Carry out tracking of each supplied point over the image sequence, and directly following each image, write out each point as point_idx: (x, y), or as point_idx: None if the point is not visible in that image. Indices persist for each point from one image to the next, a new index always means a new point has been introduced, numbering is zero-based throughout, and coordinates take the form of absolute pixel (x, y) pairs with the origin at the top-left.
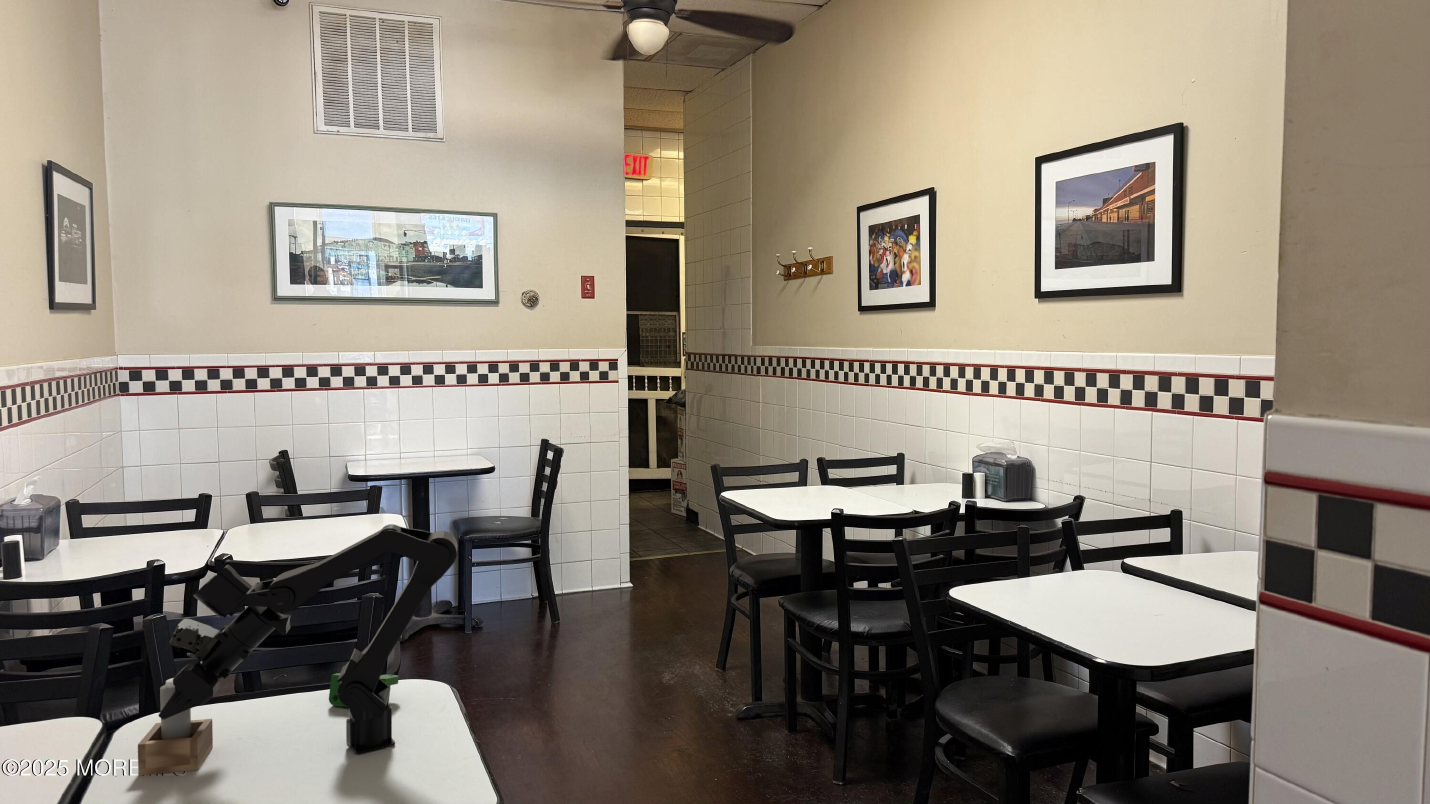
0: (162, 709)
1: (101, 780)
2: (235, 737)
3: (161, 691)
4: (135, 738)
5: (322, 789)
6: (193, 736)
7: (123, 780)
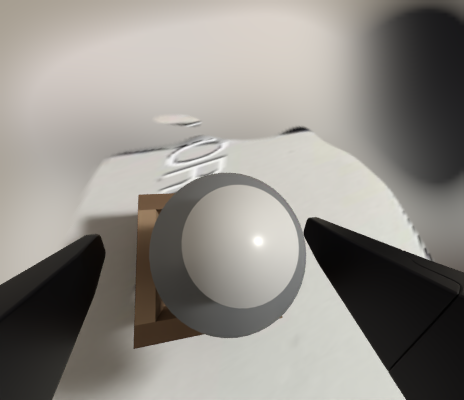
0: (52, 255)
1: (146, 164)
2: (298, 328)
3: (177, 193)
4: (292, 160)
5: None
6: (162, 322)
7: (137, 196)
